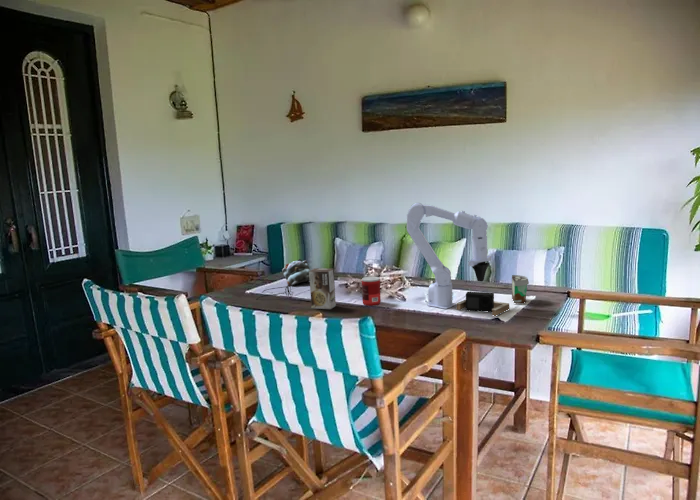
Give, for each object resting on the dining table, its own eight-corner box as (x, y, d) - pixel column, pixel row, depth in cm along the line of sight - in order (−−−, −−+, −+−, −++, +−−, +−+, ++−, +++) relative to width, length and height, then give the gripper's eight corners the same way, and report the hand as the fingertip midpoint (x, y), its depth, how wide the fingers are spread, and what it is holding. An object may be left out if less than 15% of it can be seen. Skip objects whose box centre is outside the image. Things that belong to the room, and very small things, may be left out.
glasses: (287, 299, 241) (285, 288, 240) (255, 304, 241) (253, 293, 240) (291, 292, 255) (289, 282, 254) (261, 296, 255) (259, 286, 255)
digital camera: (464, 311, 208) (464, 294, 207) (467, 308, 213) (467, 291, 212) (492, 313, 204) (492, 295, 203) (493, 309, 209) (493, 292, 208)
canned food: (383, 301, 228) (382, 276, 226) (376, 306, 220) (375, 280, 219) (367, 300, 231) (366, 276, 229) (359, 305, 224) (358, 279, 222)
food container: (530, 305, 213) (530, 281, 211) (514, 305, 214) (514, 281, 212) (526, 297, 224) (526, 274, 223) (511, 297, 226) (511, 274, 224)
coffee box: (336, 305, 225) (334, 268, 222) (330, 309, 219) (329, 271, 216) (316, 304, 228) (314, 267, 225) (310, 308, 222) (308, 270, 219)
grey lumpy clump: (285, 287, 264) (277, 261, 267) (289, 291, 275) (281, 266, 279) (313, 277, 264) (305, 251, 267) (316, 281, 275) (308, 257, 279)
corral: (456, 309, 210) (456, 303, 210) (471, 303, 218) (471, 297, 218) (495, 316, 199) (495, 309, 198) (509, 310, 207) (509, 303, 206)
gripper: (479, 251, 203) (480, 285, 205) (497, 245, 213) (498, 278, 215) (463, 249, 208) (464, 283, 210) (482, 244, 218) (482, 276, 220)
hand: (480, 280), depth 213 cm, fingers closed
